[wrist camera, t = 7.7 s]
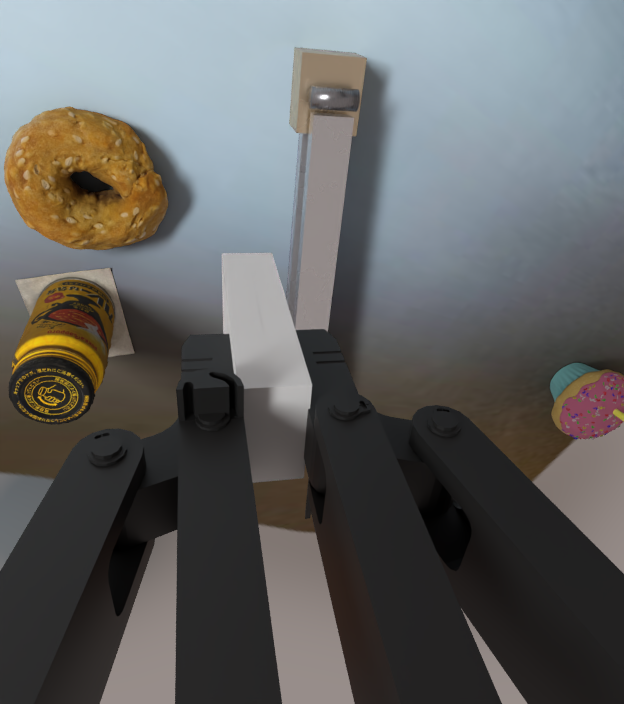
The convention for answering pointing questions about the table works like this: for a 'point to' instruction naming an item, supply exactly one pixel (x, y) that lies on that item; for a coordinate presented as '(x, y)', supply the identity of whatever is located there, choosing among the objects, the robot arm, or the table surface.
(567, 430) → the cupcake
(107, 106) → the table surface
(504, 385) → the table surface
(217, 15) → the table surface
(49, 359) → the condiment
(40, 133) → the bagel
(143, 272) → the table surface
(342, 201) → the bar
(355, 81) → the base
